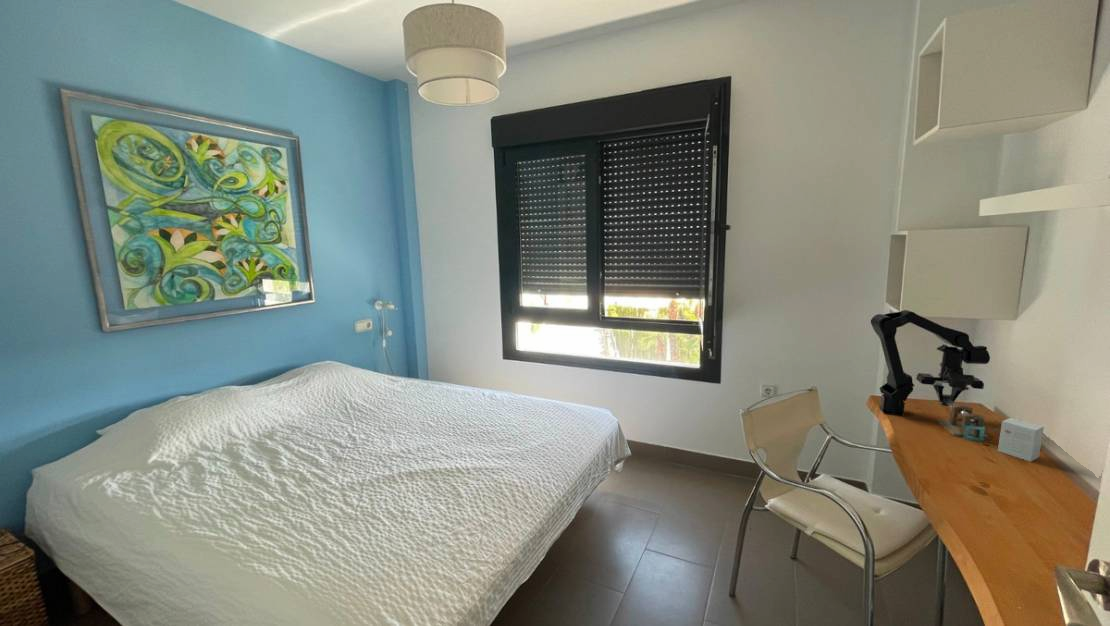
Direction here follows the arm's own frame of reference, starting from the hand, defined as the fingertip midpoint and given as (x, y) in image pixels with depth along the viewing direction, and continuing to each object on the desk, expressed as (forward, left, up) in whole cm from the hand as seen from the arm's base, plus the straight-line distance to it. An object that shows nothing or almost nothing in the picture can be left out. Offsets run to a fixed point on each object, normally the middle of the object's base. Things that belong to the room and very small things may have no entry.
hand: (946, 402), depth 171 cm
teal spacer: (0, -22, -5) cm, 23 cm away
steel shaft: (0, -10, -1) cm, 10 cm away
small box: (+8, -30, -5) cm, 32 cm away
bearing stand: (0, -15, -5) cm, 15 cm away
